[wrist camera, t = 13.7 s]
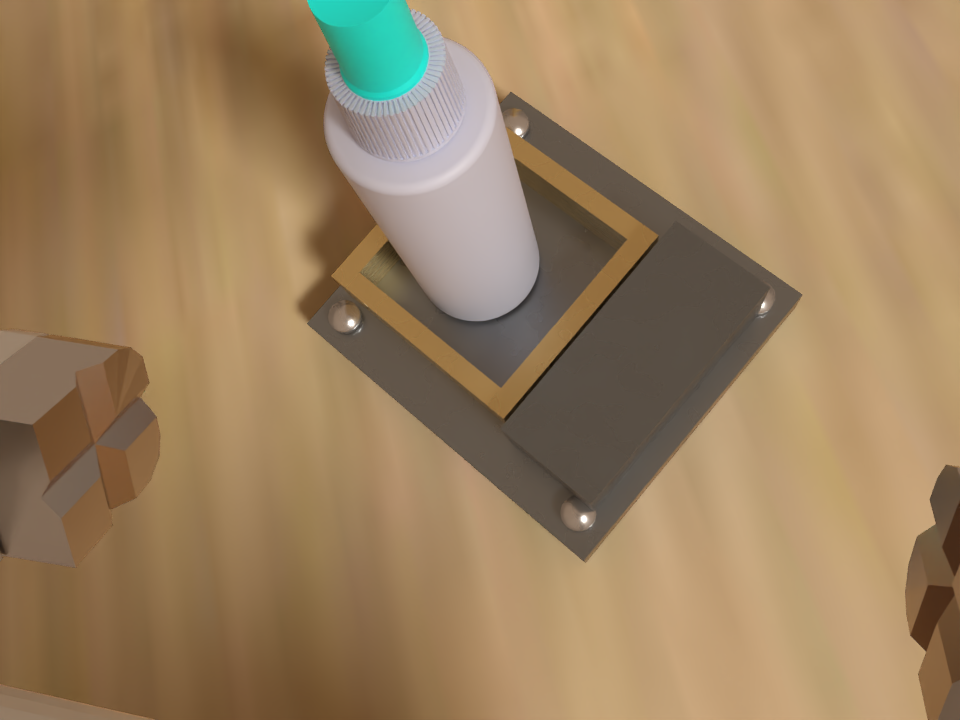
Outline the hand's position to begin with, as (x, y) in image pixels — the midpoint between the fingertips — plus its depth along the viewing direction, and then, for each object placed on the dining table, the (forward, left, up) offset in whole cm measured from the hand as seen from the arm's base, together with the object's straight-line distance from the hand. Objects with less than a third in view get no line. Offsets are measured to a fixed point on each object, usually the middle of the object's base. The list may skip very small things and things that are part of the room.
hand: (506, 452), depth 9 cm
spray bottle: (+7, +14, -34) cm, 37 cm away
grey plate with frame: (+7, +10, -35) cm, 37 cm away
